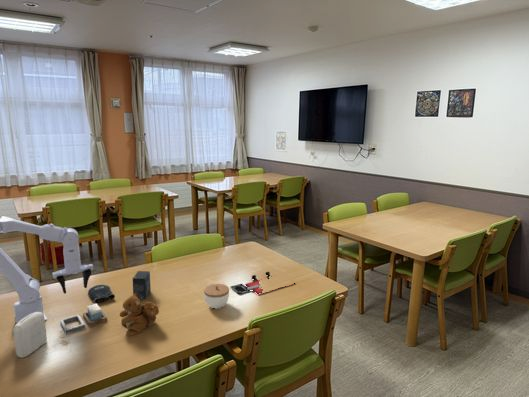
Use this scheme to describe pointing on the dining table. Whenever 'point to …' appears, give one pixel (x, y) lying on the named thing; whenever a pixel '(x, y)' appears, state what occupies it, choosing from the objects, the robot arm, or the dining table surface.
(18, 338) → the photo printer
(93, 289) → the electronic device
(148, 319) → the stuffed squirrel
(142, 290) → the box
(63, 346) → the dining table surface
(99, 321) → the brown square frame
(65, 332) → the gray square tray
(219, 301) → the lidded jar
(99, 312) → the plug
